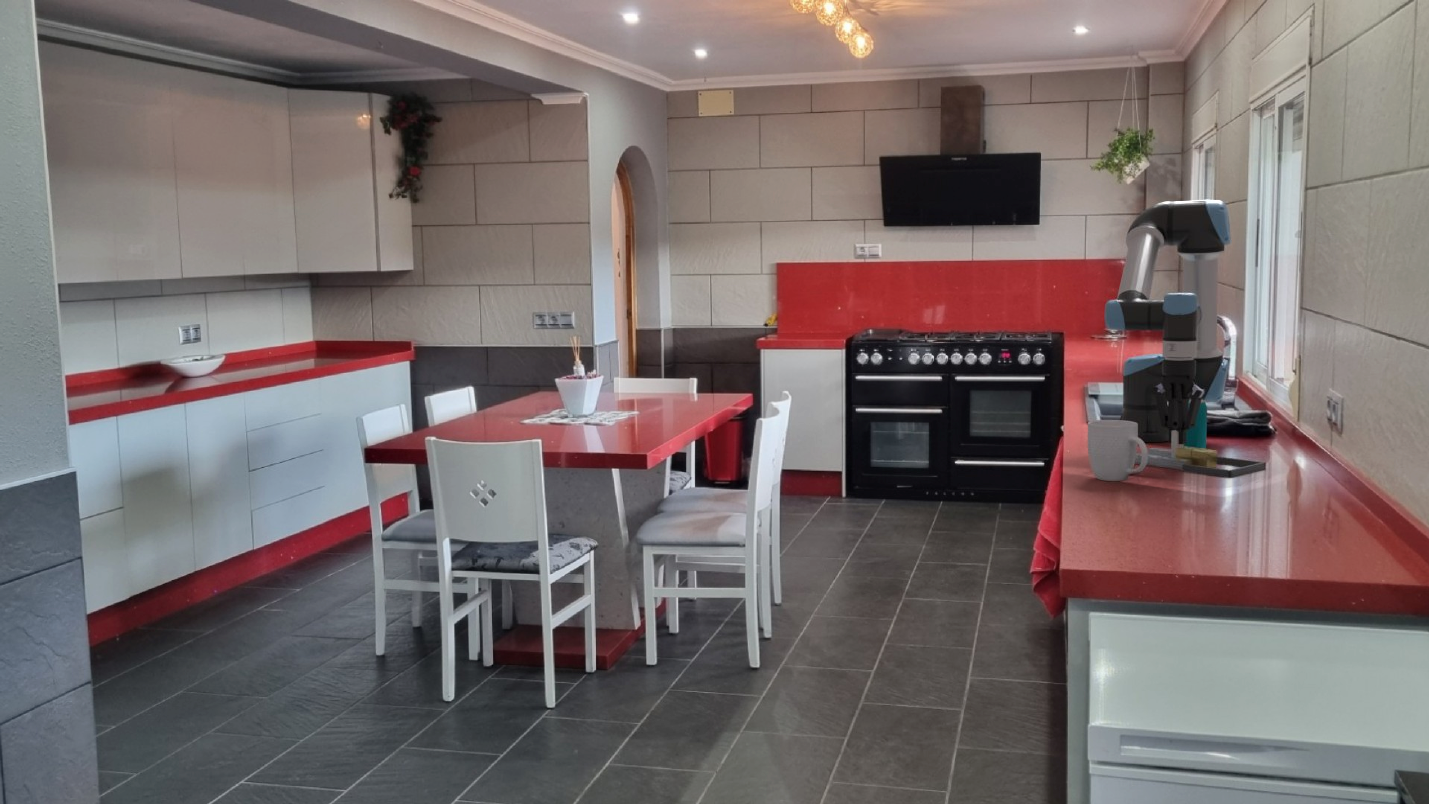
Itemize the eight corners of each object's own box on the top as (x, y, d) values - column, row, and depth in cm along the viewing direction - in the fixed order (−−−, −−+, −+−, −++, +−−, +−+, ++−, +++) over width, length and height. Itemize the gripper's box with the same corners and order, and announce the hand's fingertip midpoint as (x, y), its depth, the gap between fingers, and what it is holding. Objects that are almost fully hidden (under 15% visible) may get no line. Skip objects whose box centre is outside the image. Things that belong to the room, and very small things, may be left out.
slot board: (1153, 461, 304) (1153, 447, 304) (1213, 469, 292) (1213, 455, 291) (1124, 467, 297) (1125, 453, 296) (1185, 476, 284) (1185, 461, 284)
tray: (1217, 468, 292) (1217, 456, 292) (1265, 475, 283) (1265, 462, 283) (1182, 477, 283) (1182, 464, 283) (1230, 484, 274) (1230, 470, 274)
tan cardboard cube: (1200, 464, 290) (1201, 448, 289) (1216, 467, 287) (1217, 450, 286) (1190, 466, 287) (1192, 450, 287) (1206, 469, 284) (1207, 453, 284)
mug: (1161, 481, 279) (1162, 424, 277) (1130, 487, 273) (1131, 429, 271) (1107, 472, 291) (1108, 418, 290) (1076, 478, 285) (1077, 422, 284)
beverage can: (1201, 458, 307) (1203, 398, 305) (1208, 462, 301) (1210, 401, 299) (1178, 458, 307) (1179, 399, 306) (1184, 462, 302) (1185, 402, 300)
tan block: (1184, 462, 293) (1185, 446, 292) (1200, 464, 290) (1200, 448, 289) (1175, 465, 290) (1175, 448, 290) (1190, 467, 287) (1191, 450, 287)
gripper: (1145, 358, 292) (1143, 456, 295) (1195, 361, 282) (1193, 462, 284) (1163, 356, 296) (1161, 452, 299) (1213, 358, 286) (1211, 458, 289)
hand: (1177, 457), depth 292 cm, fingers closed
